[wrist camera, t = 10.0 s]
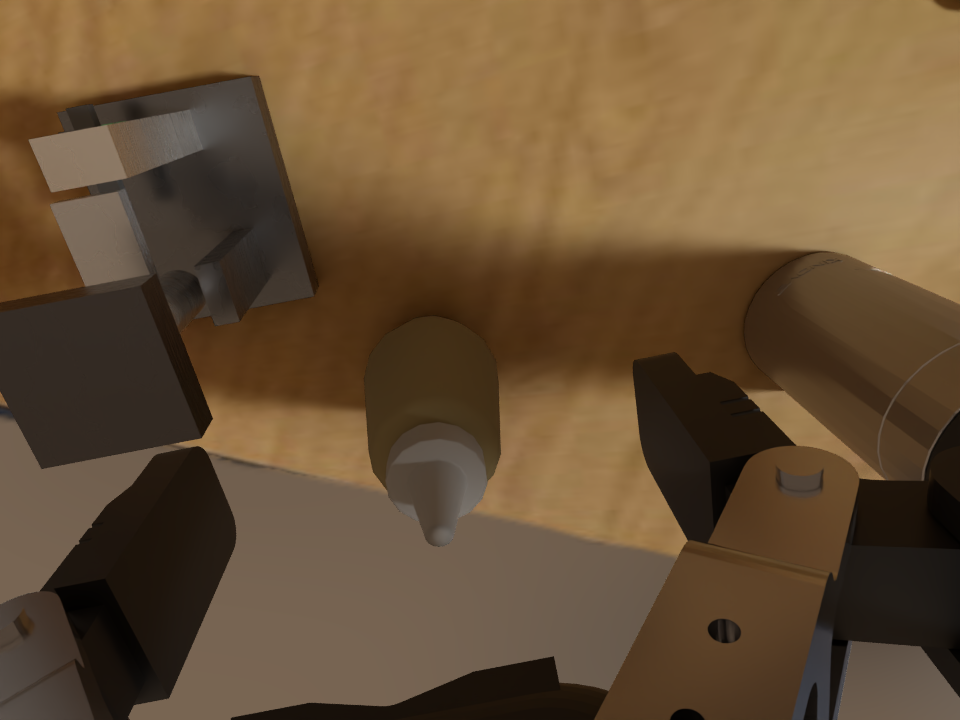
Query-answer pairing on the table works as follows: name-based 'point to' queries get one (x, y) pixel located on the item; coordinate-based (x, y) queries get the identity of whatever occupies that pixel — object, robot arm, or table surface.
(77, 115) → the peak pointer
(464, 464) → the squeeze bottle
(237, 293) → the frame
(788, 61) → the table surface
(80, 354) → the dark grey blocky piece
